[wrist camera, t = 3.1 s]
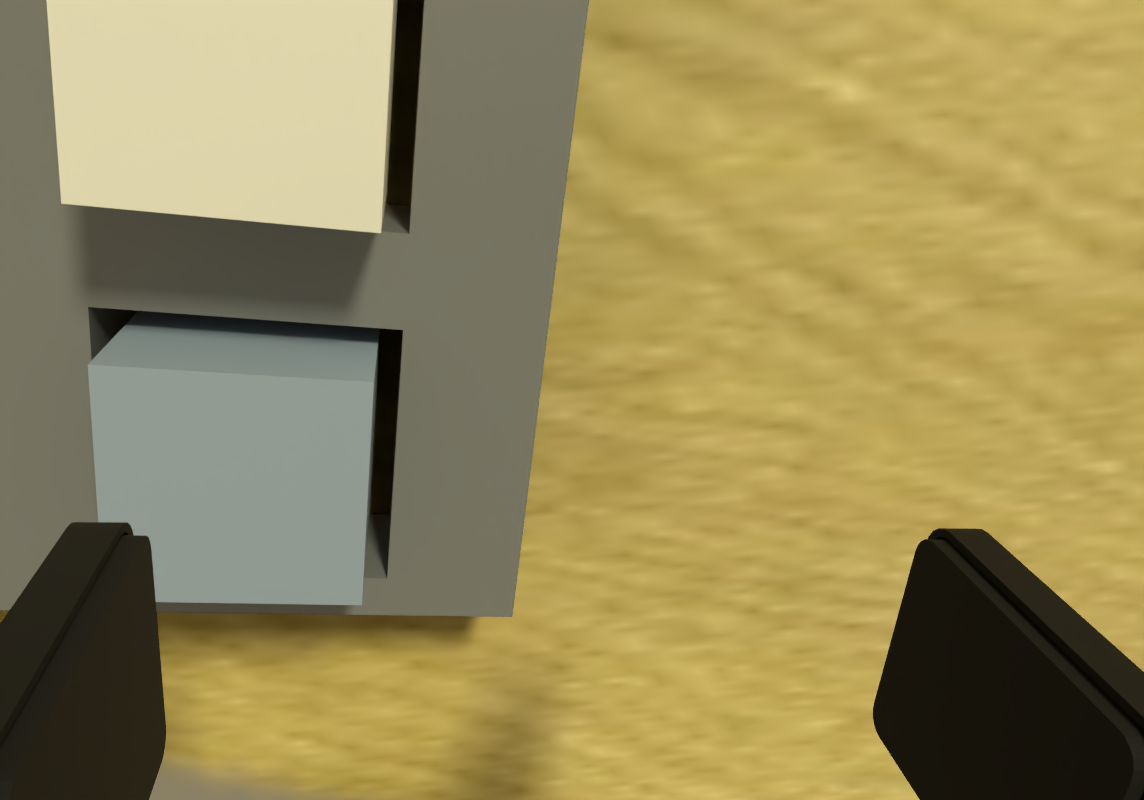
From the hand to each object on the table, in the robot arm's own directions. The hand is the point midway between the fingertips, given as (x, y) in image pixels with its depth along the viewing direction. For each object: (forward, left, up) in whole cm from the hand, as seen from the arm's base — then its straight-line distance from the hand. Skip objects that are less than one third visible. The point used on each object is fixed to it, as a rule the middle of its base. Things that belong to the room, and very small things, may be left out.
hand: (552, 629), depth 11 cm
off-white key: (+5, -6, -11) cm, 13 cm away
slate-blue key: (+5, +2, -11) cm, 13 cm away
